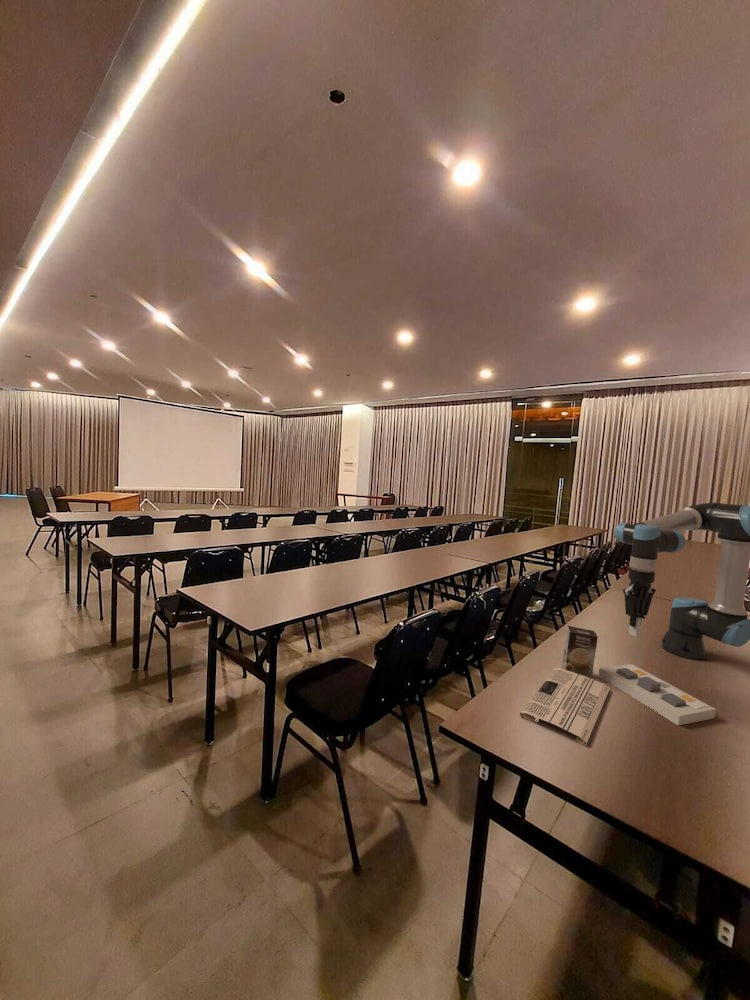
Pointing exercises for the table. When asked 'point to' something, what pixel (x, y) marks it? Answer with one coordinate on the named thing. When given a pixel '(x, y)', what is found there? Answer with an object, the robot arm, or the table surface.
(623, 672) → the button
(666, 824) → the table surface
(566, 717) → the newspaper
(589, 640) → the coffee box
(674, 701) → the button
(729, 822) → the table surface
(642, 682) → the middle button
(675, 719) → the button board
